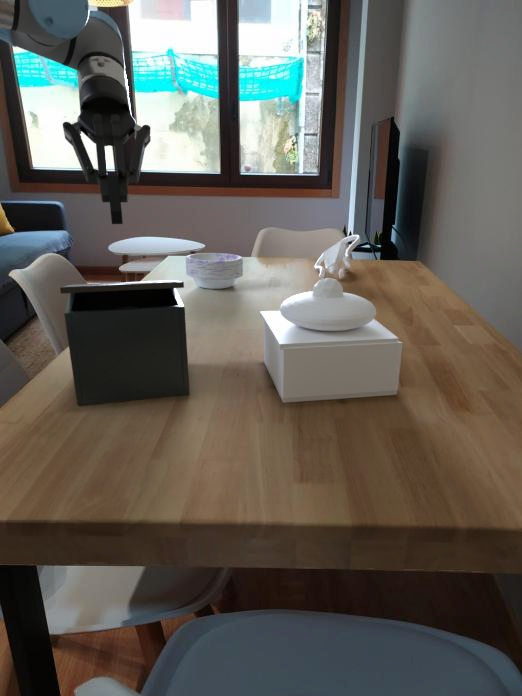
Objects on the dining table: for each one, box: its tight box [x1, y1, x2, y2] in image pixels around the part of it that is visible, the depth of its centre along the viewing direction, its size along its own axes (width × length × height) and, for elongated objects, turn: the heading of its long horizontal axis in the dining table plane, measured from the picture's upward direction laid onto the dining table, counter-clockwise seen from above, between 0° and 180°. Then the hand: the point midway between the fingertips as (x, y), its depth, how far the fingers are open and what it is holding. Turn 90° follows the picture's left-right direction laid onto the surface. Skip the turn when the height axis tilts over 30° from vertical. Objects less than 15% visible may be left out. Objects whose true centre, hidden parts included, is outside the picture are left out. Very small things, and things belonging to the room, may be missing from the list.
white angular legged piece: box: [314, 234, 361, 280], centre depth 163 cm, size 17×9×22 cm
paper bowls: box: [185, 252, 244, 290], centre depth 146 cm, size 15×15×8 cm
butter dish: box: [259, 277, 403, 404], centre depth 84 cm, size 18×18×16 cm
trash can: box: [63, 288, 190, 406], centre depth 81 cm, size 14×16×13 cm
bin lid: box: [59, 279, 185, 295], centre depth 78 cm, size 14×16×1 cm
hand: (116, 217), depth 77 cm, fingers closed
